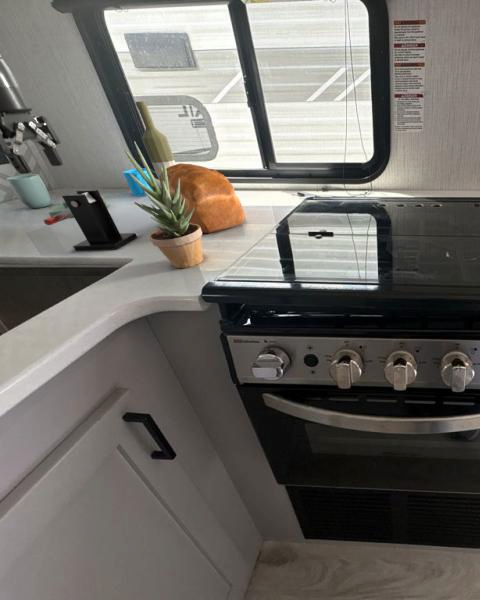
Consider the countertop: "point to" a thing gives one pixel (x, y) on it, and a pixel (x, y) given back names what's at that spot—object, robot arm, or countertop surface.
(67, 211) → the lever
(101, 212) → the bracket
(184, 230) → the potted plant
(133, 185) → the mug
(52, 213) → the button block
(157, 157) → the bottle
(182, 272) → the countertop surface
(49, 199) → the cup
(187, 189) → the bread
